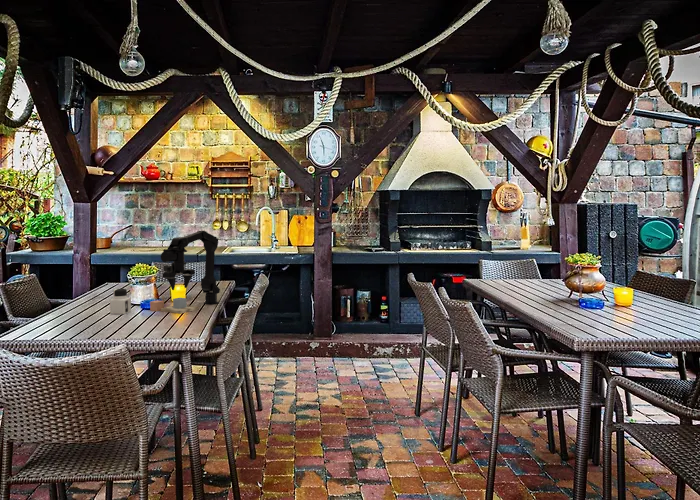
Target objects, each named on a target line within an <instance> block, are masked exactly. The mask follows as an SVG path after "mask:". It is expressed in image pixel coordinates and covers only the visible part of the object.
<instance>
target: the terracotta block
mask: <svg viewBox="0 0 700 500" xmlns="http://www.w3.org/2000/svg"><path fill="white" fill-rule="evenodd" d="M149 306H150V307H149V308H150V311H151V312H162V311H161V308H165V301H164V300H158V299H157V300H152V301H149Z"/></svg>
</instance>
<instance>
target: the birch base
mask: <svg viewBox="0 0 700 500" xmlns="http://www.w3.org/2000/svg"><path fill="white" fill-rule="evenodd" d="M199 307H200V306H195V305H187V307H186V308H181V309H178V308H173V305H171V306H166V307H164V308H161V311H160V312H165V313H172V314H179V315H181V314H184V313H189V312H193V311H197V310H199Z"/></svg>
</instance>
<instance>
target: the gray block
mask: <svg viewBox="0 0 700 500" xmlns="http://www.w3.org/2000/svg"><path fill="white" fill-rule="evenodd" d="M187 302H188V301H187V298H186V297H177V298H173V299H172V306H173V308H178V309H181V308H186V307H187Z"/></svg>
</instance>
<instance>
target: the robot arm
mask: <svg viewBox="0 0 700 500" xmlns="http://www.w3.org/2000/svg"><path fill="white" fill-rule="evenodd" d="M197 241H200V242H202V243H203V248H204V250H205V267H204V276H203V278H201V279H200V287H201V289H202V293H203V294H205V298H204V299H205V301H204V302H203V304H206V305H214V304H220V301H218V294H220V291H221V289H220V288H219V286H218V285H217V280H216V278H215V255H216V254H215V252H216V250H217V249H218V246H219V238H218V237H217V236H214V235H213V234H212V233H209V232H207V231H206V230H198V231H195V232H193V233H190V234H187V235H184V236H179V237H173V238H172V239H171V241H170V242H169V243H170V244H169V245H168V247H167V249H163V252H161V254H160V260H161V261H162V263H171V265H168V264H166V265H163V271H164V272H162V278H164V279H165V280H167V282H168V283H169V285H170V288H171V290H172V291H174V290H175V288H176V282H177V278H176V276H182V277H183V284H184V285H183V286H184V289H187V287H188V286H189V283H190V282H191V279H192V278H193V277H194V275H196V272H195V271H196V270H195V269H193V268H186V269H185V265H186V264H187V262H185V253H187V252H188V250H187V249H186V247H188V246H189V244H190V243H193V242H197Z"/></svg>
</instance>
